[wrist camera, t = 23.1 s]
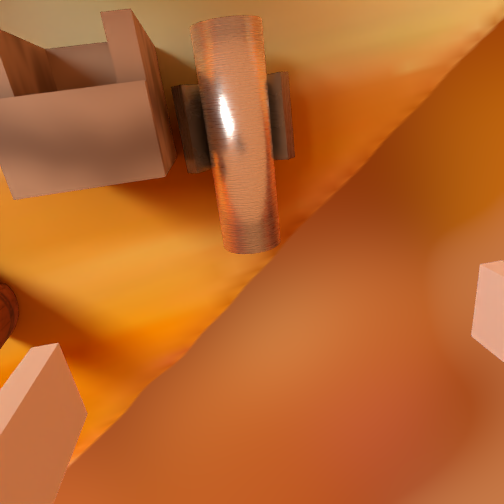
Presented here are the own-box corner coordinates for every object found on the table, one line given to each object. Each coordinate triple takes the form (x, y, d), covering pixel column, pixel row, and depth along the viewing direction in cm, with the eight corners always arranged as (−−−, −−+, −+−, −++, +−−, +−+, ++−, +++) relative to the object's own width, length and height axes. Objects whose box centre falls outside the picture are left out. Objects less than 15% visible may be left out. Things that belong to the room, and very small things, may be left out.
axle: (190, 34, 29) (188, 20, 24) (255, 27, 29) (268, 12, 24) (222, 236, 36) (226, 258, 31) (274, 228, 37) (286, 248, 32)
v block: (175, 91, 34) (170, 86, 28) (274, 78, 35) (290, 70, 29) (189, 165, 36) (187, 174, 30) (281, 151, 37) (297, 157, 31)
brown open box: (42, 59, 31) (-55, 23, 19) (154, 46, 32) (127, 3, 20) (77, 171, 35) (13, 199, 23) (177, 157, 36) (165, 176, 24)
